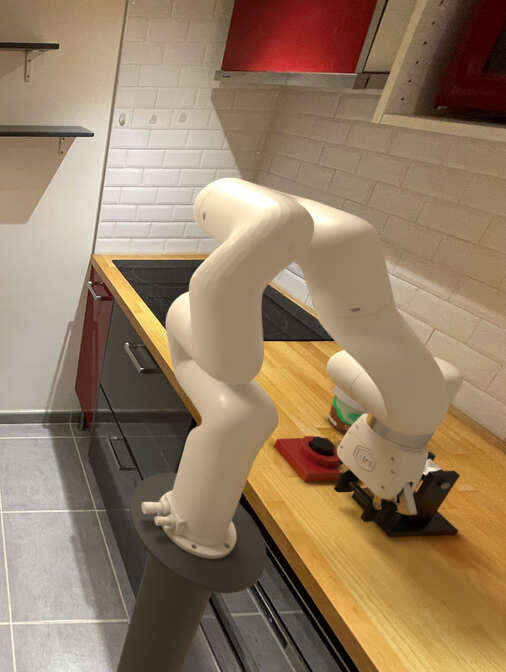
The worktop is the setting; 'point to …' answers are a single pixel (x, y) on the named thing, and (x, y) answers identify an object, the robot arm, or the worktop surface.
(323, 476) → the block
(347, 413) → the food container
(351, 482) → the lever
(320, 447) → the stop button
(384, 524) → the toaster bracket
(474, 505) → the worktop surface
